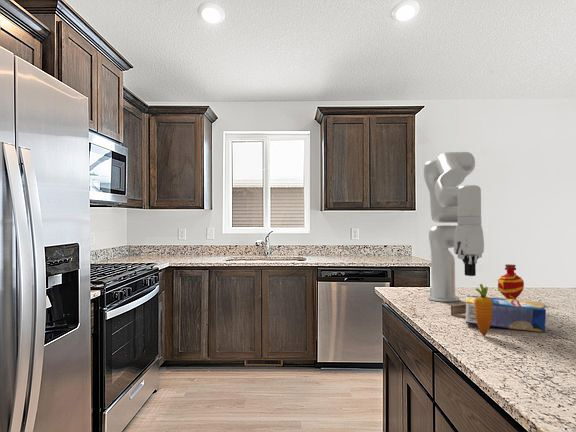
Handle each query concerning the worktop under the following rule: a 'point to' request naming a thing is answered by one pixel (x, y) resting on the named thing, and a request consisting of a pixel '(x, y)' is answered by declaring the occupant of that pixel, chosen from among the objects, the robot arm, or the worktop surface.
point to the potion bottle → (510, 283)
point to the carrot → (483, 310)
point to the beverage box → (511, 314)
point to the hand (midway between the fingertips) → (470, 275)
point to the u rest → (459, 310)
